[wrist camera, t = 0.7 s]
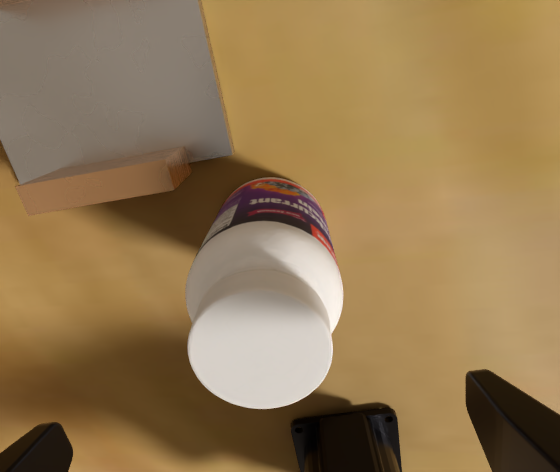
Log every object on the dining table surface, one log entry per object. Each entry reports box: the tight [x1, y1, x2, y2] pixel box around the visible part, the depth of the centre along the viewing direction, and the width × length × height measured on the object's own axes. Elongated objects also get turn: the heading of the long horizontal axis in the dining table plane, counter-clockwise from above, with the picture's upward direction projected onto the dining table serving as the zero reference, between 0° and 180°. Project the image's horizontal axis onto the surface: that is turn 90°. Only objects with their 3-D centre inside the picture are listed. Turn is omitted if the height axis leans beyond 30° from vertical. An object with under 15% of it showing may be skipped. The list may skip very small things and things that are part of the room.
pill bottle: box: [186, 177, 343, 409], centre depth 15 cm, size 5×5×10 cm
